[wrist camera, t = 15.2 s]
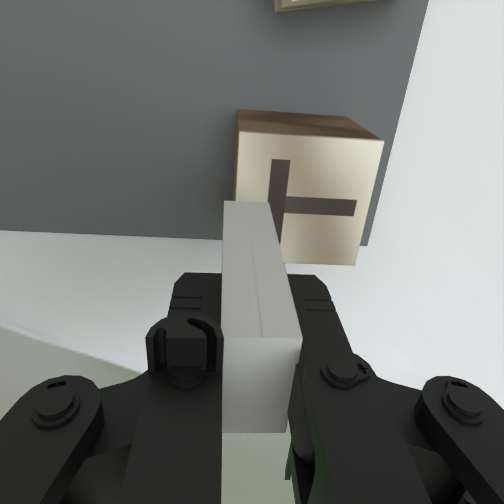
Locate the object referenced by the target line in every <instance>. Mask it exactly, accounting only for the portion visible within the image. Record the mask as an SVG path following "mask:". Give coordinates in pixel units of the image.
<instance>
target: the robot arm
mask: <svg viewBox="0 0 504 504" xmlns="http://www.w3.org/2000/svg"><path fill="white" fill-rule="evenodd" d="M145 339H146V350H147V361H148V370H147V371H146V372H144V373H143V374H141V375H140V376H138V377H136V378H134V379H132V380H129V381H126V382H123V383H120V384H116V385H112V386H109V387H104V388H101V389H98V388H97V386H96V385H95V384H94V382H93V381H91V380H89V379H87V378H84V377H82V376H71V375H70V376H69V375H64V376H60V377H56V378H52V379H48V380H46V381H44V382H42V383H40V384H38V385H36V386H34V387H33V388H31V389H30V390H29V391H28V392H27V393H26V394H25V395H23V396H22V397H21V398H20V399H19V400H18V401H17V402H16V403H15V404H14V405H13V407H12V408H11V409H10V410H9V411H8V412H7V413H6V415H5V416H4V417H3V418H2V419H1V420H0V504H221V469H222V459H221V458H222V433H285V432H286V428H287V423H288V419H289V425H290V432H291V444H290V448H289V453H288V459H287V464H286V470H285V480H290V476H291V475H292V483H293V490H294V495H295V496H294V497H295V504H504V410H503V409H502V408H501V407H500V406H499V405H498V404H497V403H496V402H495V401H494V400H493V399H492V398H491V397H490V396H489V395H488V394H486V393H485V392H484V391H482V390H481V389H480V388H479V387H477V386H475V385H473V384H471V383H469V382H467V381H465V380H462V379H459V378H455V377H451V376H436V377H434V378H432V379H430V380H428V381H427V382H426V383H425V385H424V387H423V389H422V390H418V389H414V388H410V387H407V386H403V385H399V384H395V383H392V382H389V381H386V380H383V379H381V378H379V377H377V376H376V374H375V372H374V371H373V370H372V368H371V367H370V365H369V364H368V363H367V362H366V361H365V360H363V359H362V358H361V357H360V356H358V355H356V354H354V353H353V352H352V349H351V347H350V344H349V342H348V339H347V337H346V334H345V332H344V329H343V327H342V324H341V322H340V319H339V316H338V314H337V312H336V309H335V306H334V304H333V301H331V296H330V294H329V291H328V289H327V286H326V285H325V284H324V283H323V282H322V281H321V280H320V279H318V278H317V277H316V276H315V275H300V274H287V273H286V269H285V265H284V261H283V257H282V253H281V249H280V245H279V241H278V237H277V233H276V229H275V225H274V221H273V217H272V213H271V209H270V205H269V202H247V201H224V217H223V244H222V272H221V273H186V272H185V273H184V274H183V275H182V276H181V277H180V278H179V279H178V280H177V281H176V282H175V283H174V288H173V293H172V299H171V302H170V306H169V311H168V316H167V318H164V319H161V320H160V321H159V322H157V323H156V324H155V325H153V326H152V327H151V328H150V330H149V332H148V334H147V335H146V337H145Z"/></svg>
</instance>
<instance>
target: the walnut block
mask: <svg viewBox="0 0 504 504" xmlns="http://www.w3.org/2000/svg"><path fill="white" fill-rule="evenodd" d="M383 146H384V141H383V140H381V139H380V138H378V137H377V136H375V135H374V134H372V133H371V132H369V131H368V130H366V129H365V128H363V127H361V126H360V125H358V124H357V123H355V122H354V121H352V120H351V119H349V118H348V117H346V116H332V115H318V114H303V113H289V112H275V111H260V110H246V109H238V113H237V132H236V152H235V172H234V191H233V201H247V202H269V205H270V209H271V213H272V217H273V221H274V225H275V229H276V233H277V237H278V241H279V245H280V249H281V253H282V257H283V261H284V263H301V264H327V265H352V266H355V262H356V258H357V254H358V250H359V246H360V242H361V237H362V233H363V229H364V225H365V221H366V217H367V212H368V208H369V204H370V200H371V196H372V191H373V187H374V183H375V179H376V175H377V171H378V166H379V162H380V158H381V154H382V150H383Z"/></svg>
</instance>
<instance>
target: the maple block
mask: <svg viewBox="0 0 504 504" xmlns="http://www.w3.org/2000/svg"><path fill="white" fill-rule="evenodd" d="M370 1H378V0H274V7H275V13H277V12H285V11H294V10H302V9H310V8H319V7H327V6H336V5H344V4H353V3H361V2H370Z"/></svg>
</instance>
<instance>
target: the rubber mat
mask: <svg viewBox="0 0 504 504" xmlns="http://www.w3.org/2000/svg"><path fill="white" fill-rule="evenodd" d="M428 1H429V0H378V1H370V2H361V3H353V4H344V5H336V6H327V7H319V8H310V9H302V10H294V11H285V12H277V13H275V7H274V0H0V230H7V231H30V232H53V233H77V234H100V235H123V236H146V237H169V238H192V239H215V240H223V217H224V201H233V191H234V172H235V152H236V132H237V113H238V109H246V110H260V111H275V112H289V113H303V114H318V115H332V116H346V117H348V118H349V119H351V120H352V121H354V122H355V123H357V124H358V125H360V126H361V127H363V128H365V129H366V130H368V131H369V132H371V133H372V134H374V135H375V136H377V137H378V138H380V139H381V140H383V141H384V146H383V150H382V154H381V158H380V162H379V166H378V171H377V175H376V179H375V183H374V187H373V191H372V196H371V200H370V204H369V208H368V212H367V217H366V221H365V225H364V229H363V233H362V237H361V242H360V246H367V244H368V240H369V236H370V232H371V228H372V224H373V220H374V216H375V212H376V208H377V204H378V200H379V196H380V192H381V188H382V184H383V180H384V176H385V172H386V168H387V164H388V160H389V156H390V152H391V149H392V145H393V141H394V137H395V133H396V129H397V125H398V121H399V117H400V113H401V109H402V105H403V101H404V97H405V93H406V89H407V85H408V81H409V77H410V73H411V69H412V65H413V61H414V57H415V53H416V49H417V45H418V41H419V37H420V33H421V29H422V25H423V21H424V17H425V13H426V9H427V5H428Z"/></svg>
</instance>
